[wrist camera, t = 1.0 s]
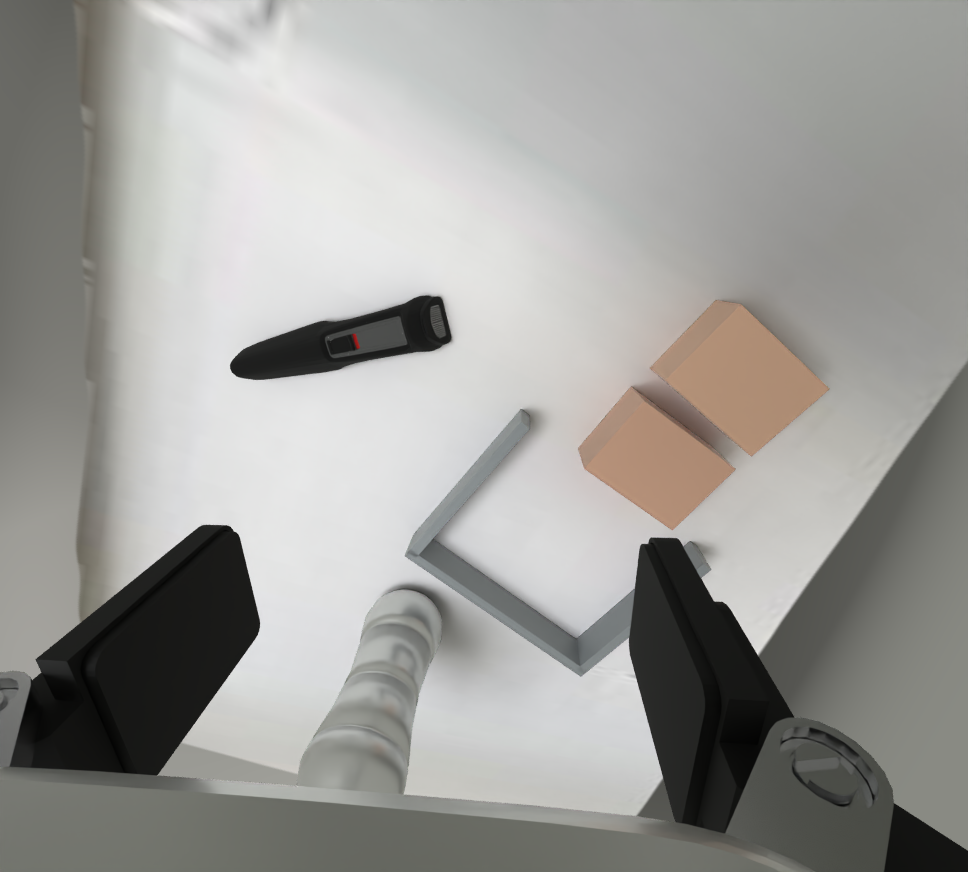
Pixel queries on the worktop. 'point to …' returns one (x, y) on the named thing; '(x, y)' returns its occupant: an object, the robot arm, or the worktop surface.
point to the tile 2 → (739, 375)
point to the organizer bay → (501, 602)
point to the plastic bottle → (377, 700)
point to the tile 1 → (653, 459)
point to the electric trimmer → (347, 341)
